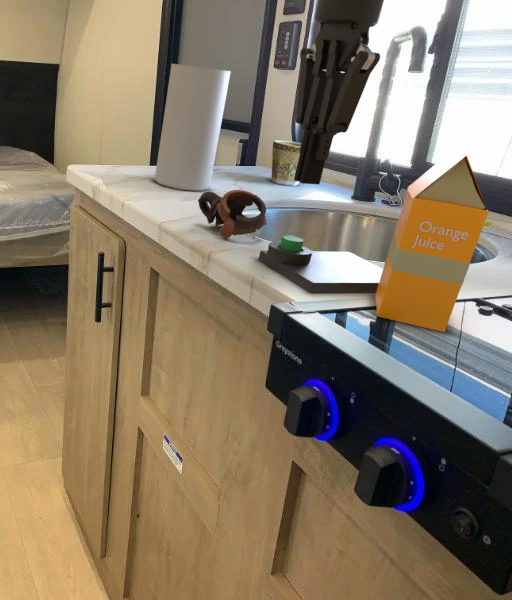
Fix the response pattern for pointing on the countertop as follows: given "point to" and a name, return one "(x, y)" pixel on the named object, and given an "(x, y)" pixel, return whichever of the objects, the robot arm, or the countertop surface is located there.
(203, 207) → the broken mug
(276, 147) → the ceramic cup
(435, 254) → the orange juice
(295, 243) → the button
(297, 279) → the scale
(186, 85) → the cylinder vase
